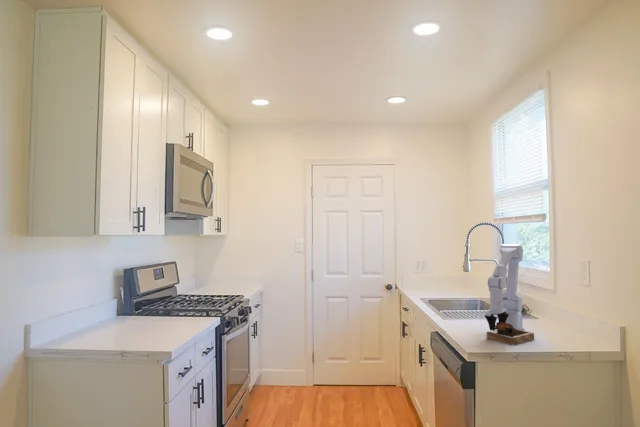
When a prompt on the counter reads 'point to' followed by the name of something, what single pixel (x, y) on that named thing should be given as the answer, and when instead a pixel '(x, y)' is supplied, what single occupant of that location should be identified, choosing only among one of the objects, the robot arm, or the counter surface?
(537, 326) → the counter surface
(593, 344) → the counter surface
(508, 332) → the pottery mug
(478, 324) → the counter surface
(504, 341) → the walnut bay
